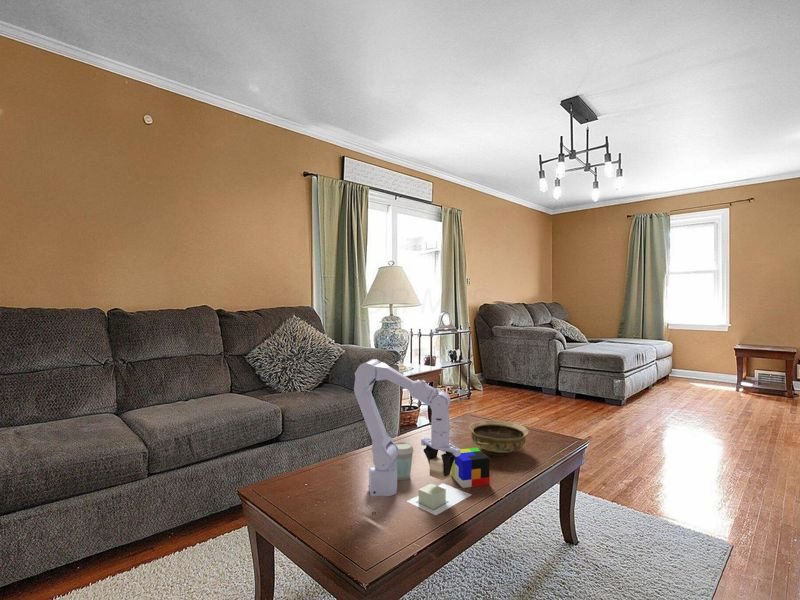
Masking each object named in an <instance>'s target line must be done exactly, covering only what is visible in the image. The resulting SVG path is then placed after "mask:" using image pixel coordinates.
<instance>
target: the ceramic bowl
mask: <svg viewBox="0 0 800 600" xmlns="http://www.w3.org/2000/svg"><path fill="white" fill-rule="evenodd" d="M468 428H469V430H470V432H471V440H472V441H473V443H474V444H475V445H476V446H478V447H480V448H481V449H483V450H486V451H487V453H488V454H490V455H493V456H506V455H508V453H511V452H516V451H518V450H520V449H521V448H523V446H525V444H526V436H527V435H529V429H528V428H527V427H525V426H524V425H522V424H519V423H514V422H510V421H503V420H492V419H491V420H490V419H489V420H487V419H486V420H479V421H475V422H472V423H470V425H468Z"/></svg>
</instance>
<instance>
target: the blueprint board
mask: <svg viewBox="0 0 800 600" xmlns="http://www.w3.org/2000/svg"><path fill="white" fill-rule="evenodd" d="M437 486H439V487H441V488H444V489H446V502H445V503H443V504H441V505H439V506H438V507H436V508H434V509H432V508H430V507H428V506H426V505H424V504H422V503H419V494H418V495H417V496H415V497H413V498H410V499H408V500H406V503H408V504H411V505H413V506H414V507H417V508H419V509H422V510H424V511H426V512H428V513H430V514H432V515H433V516H437V515H440V514H441V513H442V512H445V511H447V510H448V509H449V508H452V507H454V506H455V505H457V504H459V503H461V502H462V501H464V500H466V499H467V498H469V497H471V496H472V494H471V493H468V492H465V491H464V490H461V489H459V488H456V487H453V486H450V485H448V484H447V483H446V484H445V483H443V482H442V483H440V484H438V485H437Z"/></svg>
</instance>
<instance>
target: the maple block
mask: <svg viewBox="0 0 800 600" xmlns="http://www.w3.org/2000/svg"><path fill="white" fill-rule="evenodd" d="M429 476H430V477H433V478H435V479H436V480H439V481H444V480H446V479H448V478H450V477H452V467H451V471H450V475H448V476H444V465H443V460H442V457H441V455H439V456H438V455H437V457H436V458H433V459H431V460H430V466H429Z"/></svg>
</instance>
